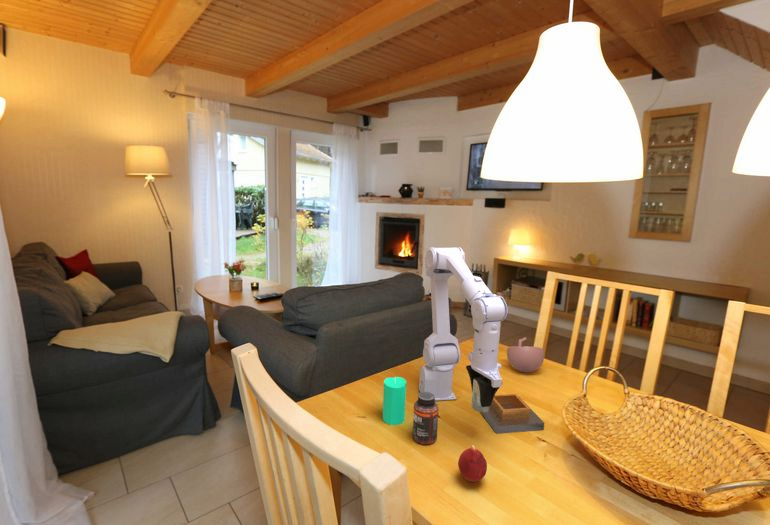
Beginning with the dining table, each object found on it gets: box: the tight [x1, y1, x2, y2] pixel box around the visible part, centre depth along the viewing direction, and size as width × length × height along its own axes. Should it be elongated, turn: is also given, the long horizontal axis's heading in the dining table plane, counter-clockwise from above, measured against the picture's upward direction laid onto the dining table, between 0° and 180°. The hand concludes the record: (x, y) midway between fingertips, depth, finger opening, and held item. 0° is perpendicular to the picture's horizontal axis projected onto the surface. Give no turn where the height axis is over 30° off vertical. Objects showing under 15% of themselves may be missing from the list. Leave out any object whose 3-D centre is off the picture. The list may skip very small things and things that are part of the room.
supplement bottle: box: [412, 392, 439, 445], centre depth 93 cm, size 6×6×11 cm
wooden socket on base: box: [480, 393, 545, 435], centre depth 104 cm, size 13×13×4 cm
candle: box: [382, 376, 407, 426], centre depth 101 cm, size 6×6×12 cm
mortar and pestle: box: [506, 336, 545, 373], centre depth 132 cm, size 12×12×11 cm
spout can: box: [470, 376, 490, 413], centre depth 92 cm, size 6×4×7 cm
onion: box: [457, 444, 488, 483], centre depth 80 cm, size 6×6×8 cm
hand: (481, 400), depth 93 cm, fingers closed on spout can, 4 cm apart
